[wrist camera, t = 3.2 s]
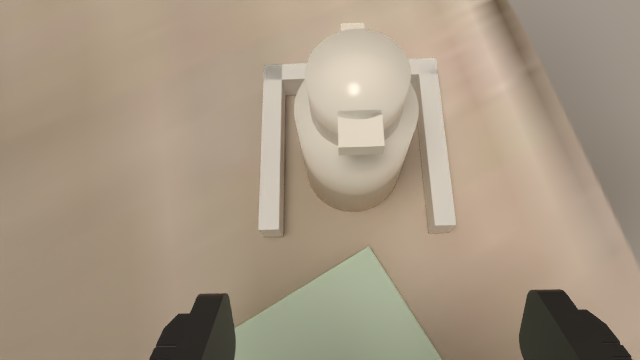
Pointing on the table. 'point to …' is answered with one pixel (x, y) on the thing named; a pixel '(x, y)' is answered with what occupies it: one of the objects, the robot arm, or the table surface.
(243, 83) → the table surface
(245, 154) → the table surface
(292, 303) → the mat
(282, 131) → the holder
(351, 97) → the figurine
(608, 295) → the table surface
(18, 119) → the table surface
